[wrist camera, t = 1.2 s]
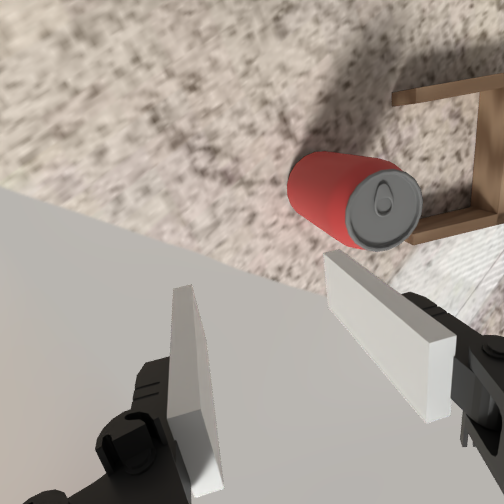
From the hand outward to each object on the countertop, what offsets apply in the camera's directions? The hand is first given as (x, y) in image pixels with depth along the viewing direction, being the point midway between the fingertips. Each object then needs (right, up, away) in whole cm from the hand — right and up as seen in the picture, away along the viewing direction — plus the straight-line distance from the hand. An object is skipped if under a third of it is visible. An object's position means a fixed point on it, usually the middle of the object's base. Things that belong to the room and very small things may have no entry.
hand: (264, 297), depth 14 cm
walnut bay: (+19, +11, +20) cm, 30 cm away
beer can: (+6, +9, +19) cm, 22 cm away
